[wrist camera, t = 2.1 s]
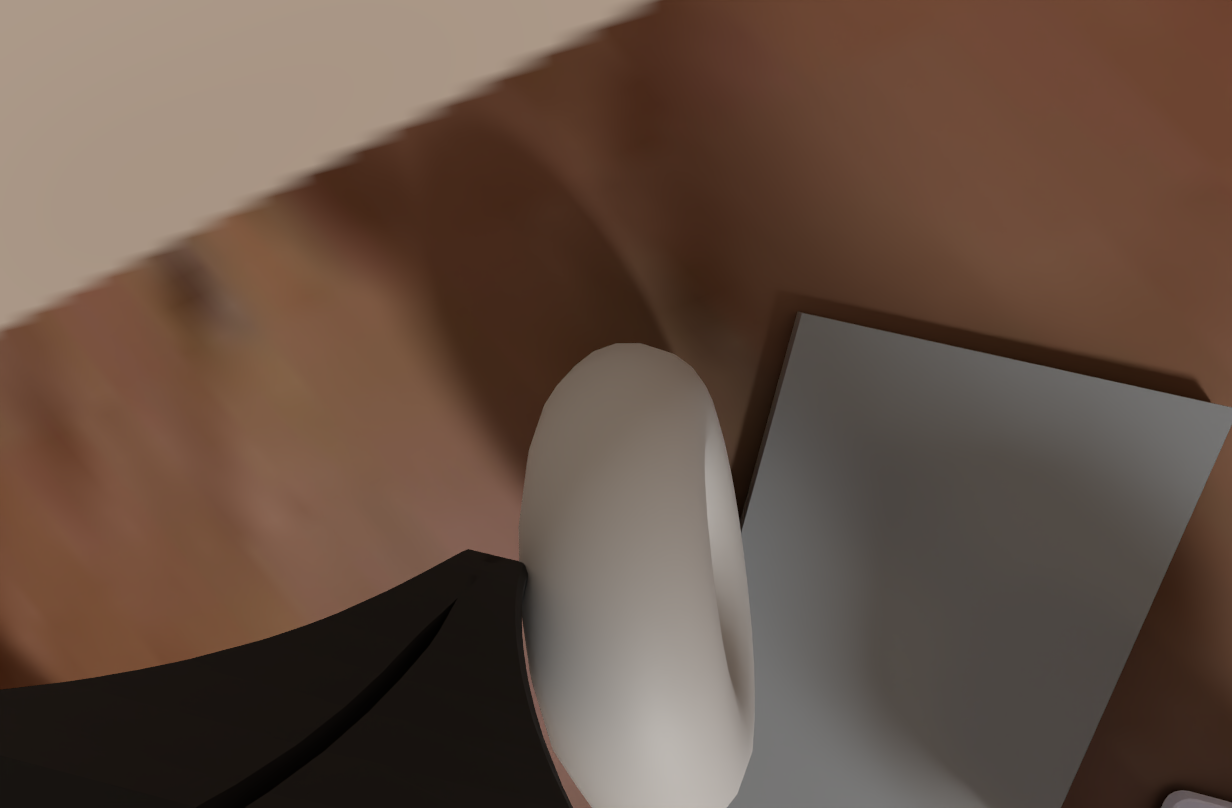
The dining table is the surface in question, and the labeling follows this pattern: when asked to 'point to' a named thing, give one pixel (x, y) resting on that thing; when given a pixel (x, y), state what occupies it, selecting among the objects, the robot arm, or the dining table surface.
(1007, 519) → the slate board
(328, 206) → the dining table surface
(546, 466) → the donut
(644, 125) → the dining table surface
